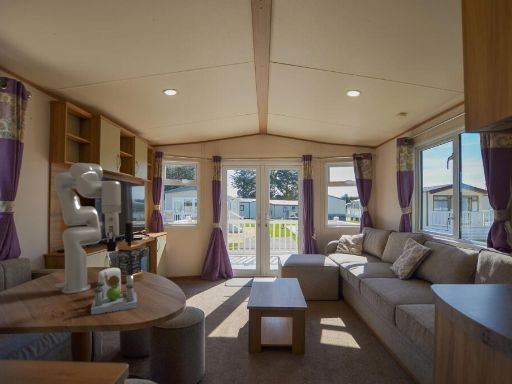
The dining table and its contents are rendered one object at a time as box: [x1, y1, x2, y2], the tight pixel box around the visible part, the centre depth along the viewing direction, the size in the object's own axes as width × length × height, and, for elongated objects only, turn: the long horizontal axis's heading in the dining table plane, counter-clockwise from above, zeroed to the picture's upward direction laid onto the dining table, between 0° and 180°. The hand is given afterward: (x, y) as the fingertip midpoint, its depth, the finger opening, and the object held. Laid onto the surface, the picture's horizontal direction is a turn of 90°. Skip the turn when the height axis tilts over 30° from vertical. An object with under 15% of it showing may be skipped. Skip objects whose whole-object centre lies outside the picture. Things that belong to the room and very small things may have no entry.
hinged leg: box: [126, 275, 134, 285], centre depth 134 cm, size 8×3×8 cm, turn 23°
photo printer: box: [97, 267, 122, 296], centre depth 145 cm, size 10×4×12 cm, turn 140°
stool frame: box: [90, 282, 138, 316], centre depth 130 cm, size 17×14×9 cm
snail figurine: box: [104, 272, 122, 300], centre depth 130 cm, size 5×6×12 cm
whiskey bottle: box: [117, 222, 143, 284], centre depth 169 cm, size 10×10×32 cm
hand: (111, 249), depth 130 cm, fingers open, 9 cm apart
